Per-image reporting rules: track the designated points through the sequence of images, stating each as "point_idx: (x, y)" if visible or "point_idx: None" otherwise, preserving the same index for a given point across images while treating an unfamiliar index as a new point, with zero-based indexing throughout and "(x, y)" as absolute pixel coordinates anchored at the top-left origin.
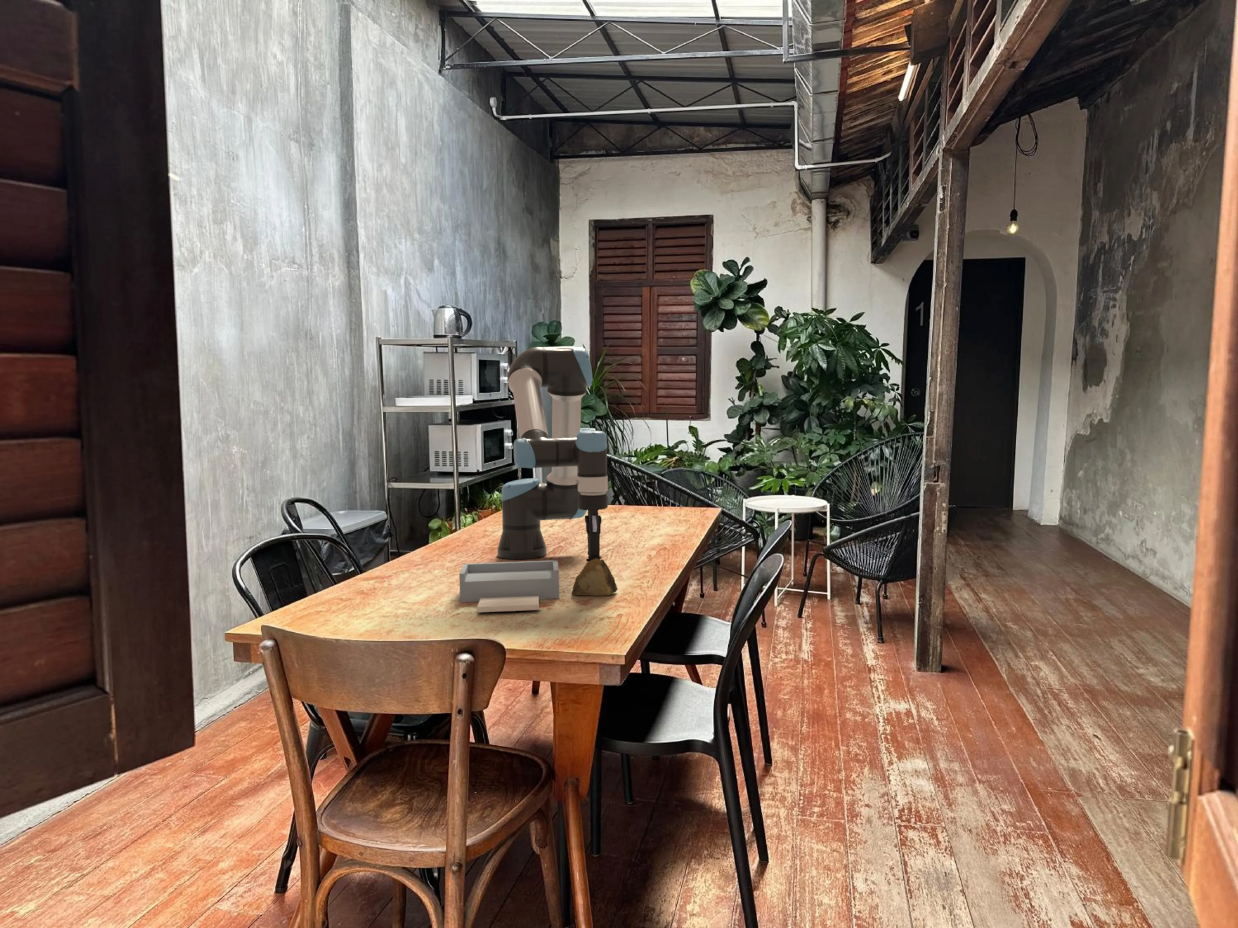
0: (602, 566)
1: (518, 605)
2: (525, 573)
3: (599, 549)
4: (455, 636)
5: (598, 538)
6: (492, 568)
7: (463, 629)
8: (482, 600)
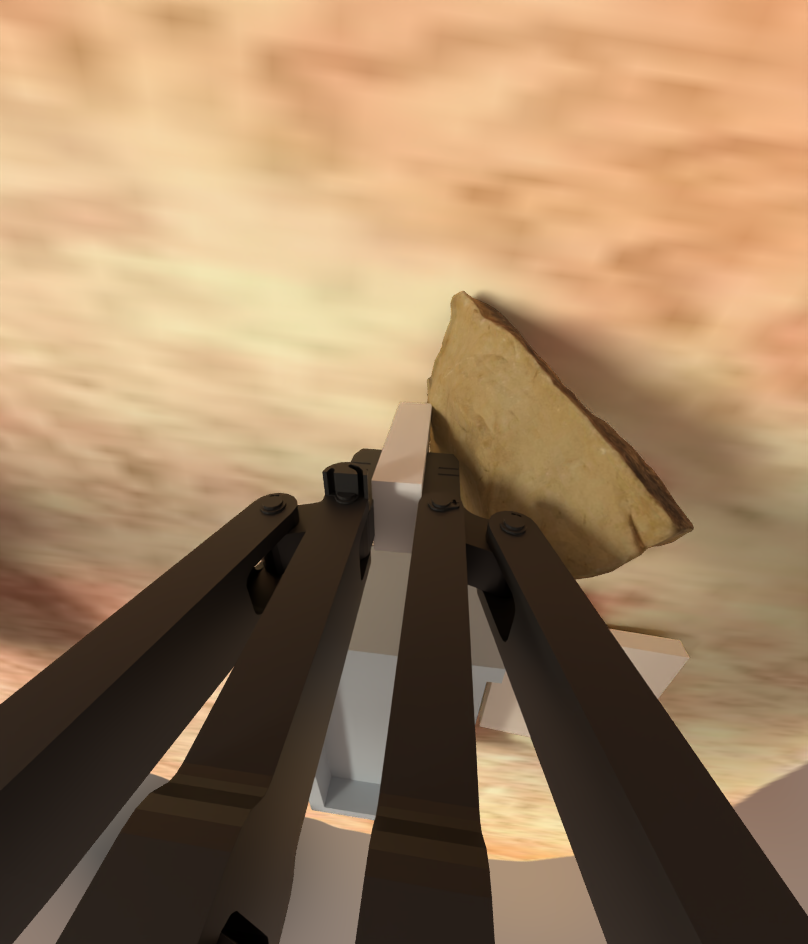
0: (664, 492)
1: (659, 695)
2: (371, 695)
3: (593, 610)
4: (779, 770)
5: (732, 834)
6: (321, 756)
7: (726, 756)
8: (517, 730)
